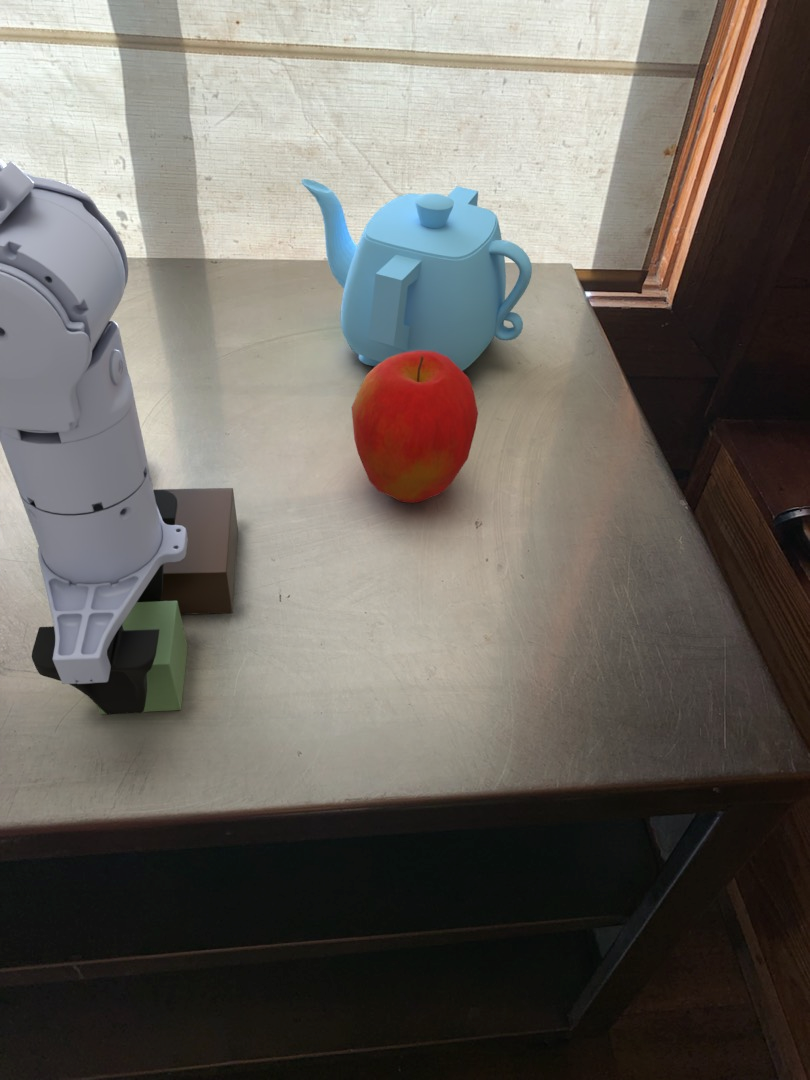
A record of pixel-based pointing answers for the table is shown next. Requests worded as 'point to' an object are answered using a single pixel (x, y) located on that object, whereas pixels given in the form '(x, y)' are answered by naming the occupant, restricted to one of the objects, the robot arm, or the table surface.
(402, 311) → the teapot
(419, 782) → the table surface
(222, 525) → the walnut base
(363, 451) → the apple
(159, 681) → the green block
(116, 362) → the robot arm
